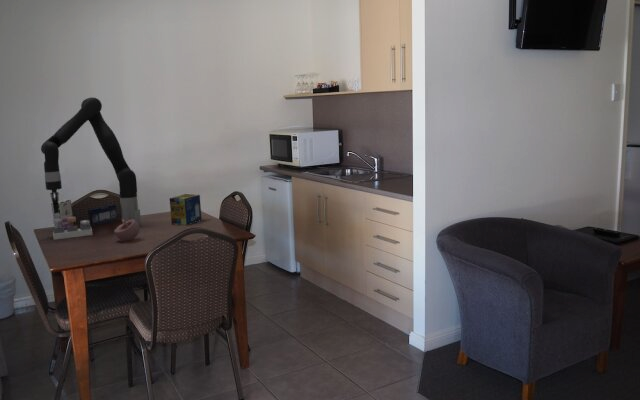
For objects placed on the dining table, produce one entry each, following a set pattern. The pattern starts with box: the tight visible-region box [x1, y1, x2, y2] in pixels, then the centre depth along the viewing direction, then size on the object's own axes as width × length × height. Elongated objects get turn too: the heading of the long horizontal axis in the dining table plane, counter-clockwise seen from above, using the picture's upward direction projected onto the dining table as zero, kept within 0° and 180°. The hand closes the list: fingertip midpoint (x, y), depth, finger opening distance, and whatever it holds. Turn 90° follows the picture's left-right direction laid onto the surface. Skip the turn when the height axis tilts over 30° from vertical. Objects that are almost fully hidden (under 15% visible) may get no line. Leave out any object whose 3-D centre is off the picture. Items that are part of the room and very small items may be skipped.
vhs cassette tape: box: [87, 204, 119, 227], centre depth 331 cm, size 18×3×10 cm, turn 148°
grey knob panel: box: [52, 224, 93, 241], centre depth 299 cm, size 19×7×5 cm, turn 115°
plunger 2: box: [80, 219, 90, 226], centre depth 301 cm, size 4×4×4 cm
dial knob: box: [67, 216, 77, 226], centre depth 298 cm, size 4×4×5 cm
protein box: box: [169, 193, 202, 226], centre depth 322 cm, size 10×15×16 cm
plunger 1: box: [52, 218, 63, 227], centre depth 295 cm, size 4×4×4 cm
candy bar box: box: [51, 199, 75, 230], centre depth 317 cm, size 11×5×16 cm, turn 168°
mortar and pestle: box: [113, 218, 140, 242], centre depth 281 cm, size 12×12×12 cm
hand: (56, 212), depth 294 cm, fingers closed
